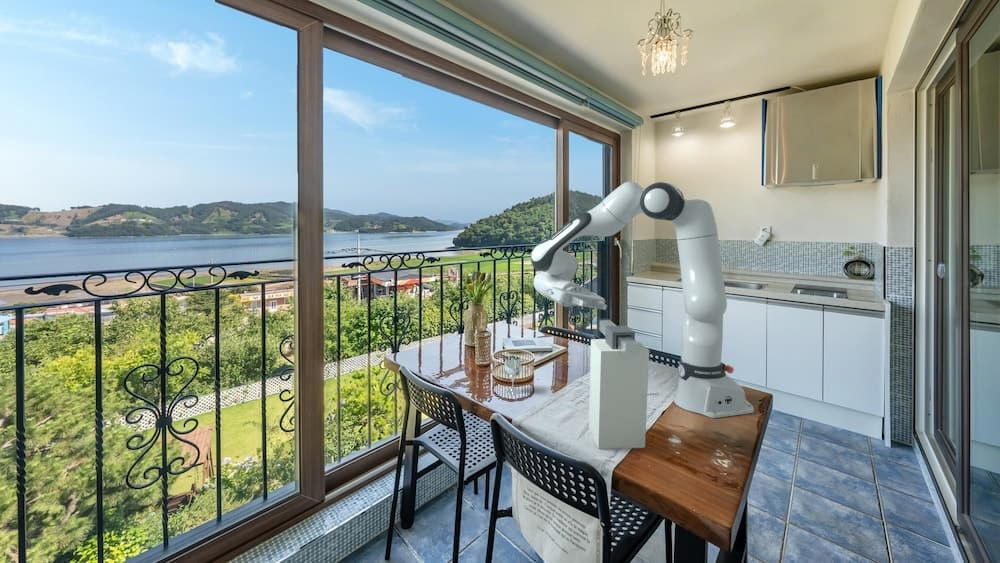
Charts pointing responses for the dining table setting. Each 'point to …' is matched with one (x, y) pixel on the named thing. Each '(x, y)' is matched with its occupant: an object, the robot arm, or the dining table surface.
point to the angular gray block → (620, 339)
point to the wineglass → (512, 370)
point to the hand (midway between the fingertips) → (594, 305)
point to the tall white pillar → (618, 392)
